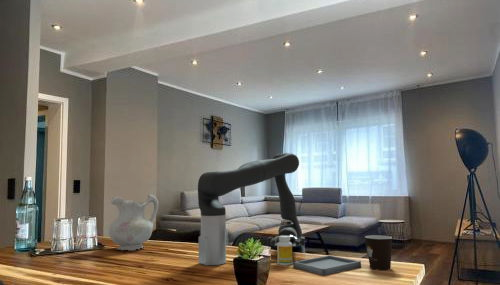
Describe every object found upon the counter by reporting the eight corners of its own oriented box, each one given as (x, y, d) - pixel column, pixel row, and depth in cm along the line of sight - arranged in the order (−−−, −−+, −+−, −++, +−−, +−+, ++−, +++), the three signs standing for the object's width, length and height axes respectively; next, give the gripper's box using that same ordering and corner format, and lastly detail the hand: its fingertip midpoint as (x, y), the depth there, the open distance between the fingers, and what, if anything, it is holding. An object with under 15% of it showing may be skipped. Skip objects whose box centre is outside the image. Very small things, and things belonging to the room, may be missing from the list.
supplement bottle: (275, 263, 129) (274, 235, 130) (288, 261, 131) (287, 234, 132) (281, 266, 124) (280, 237, 125) (295, 264, 126) (294, 236, 127)
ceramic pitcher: (147, 245, 180) (146, 195, 184) (165, 247, 165) (163, 192, 169) (103, 251, 166) (103, 197, 170) (118, 253, 151) (117, 194, 156)
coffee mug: (396, 271, 114) (394, 239, 115) (368, 270, 115) (366, 238, 117) (389, 263, 125) (388, 234, 126) (364, 262, 127) (362, 234, 128)
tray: (323, 275, 111) (323, 269, 111) (293, 267, 122) (293, 261, 122) (361, 266, 121) (360, 261, 121) (329, 260, 132) (329, 255, 132)
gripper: (270, 228, 148) (265, 233, 132) (305, 228, 146) (304, 233, 130) (270, 246, 147) (265, 254, 132) (305, 247, 145) (305, 254, 129)
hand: (284, 243), depth 131 cm, fingers open, 8 cm apart
